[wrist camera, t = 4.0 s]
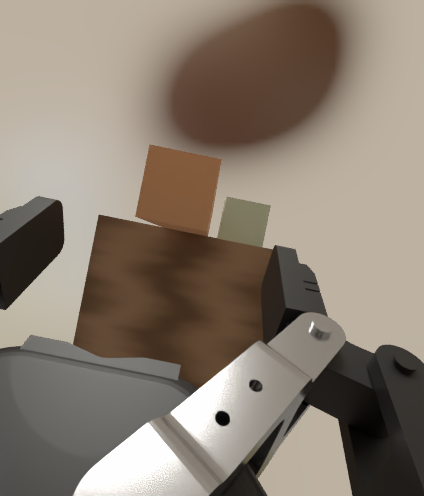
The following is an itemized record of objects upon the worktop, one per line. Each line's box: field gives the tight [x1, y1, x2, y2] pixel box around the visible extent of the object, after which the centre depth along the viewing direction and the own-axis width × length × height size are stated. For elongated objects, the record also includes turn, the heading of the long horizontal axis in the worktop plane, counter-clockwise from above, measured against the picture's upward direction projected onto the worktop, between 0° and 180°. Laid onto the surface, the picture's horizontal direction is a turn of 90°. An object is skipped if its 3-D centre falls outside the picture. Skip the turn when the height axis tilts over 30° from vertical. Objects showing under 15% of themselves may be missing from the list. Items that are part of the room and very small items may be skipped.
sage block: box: [218, 197, 270, 247], centre depth 32 cm, size 4×4×4 cm
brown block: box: [136, 145, 221, 236], centre depth 25 cm, size 3×22×3 cm, turn 1°
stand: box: [73, 215, 273, 389], centre depth 29 cm, size 13×13×32 cm
